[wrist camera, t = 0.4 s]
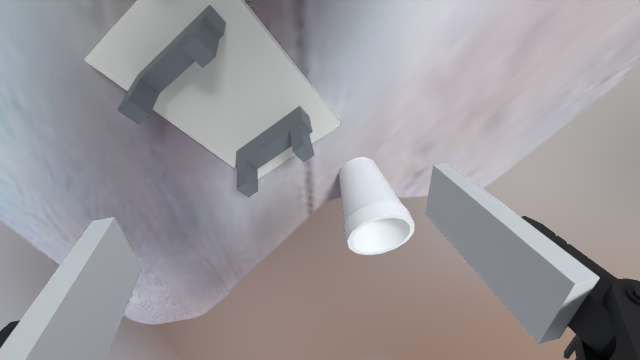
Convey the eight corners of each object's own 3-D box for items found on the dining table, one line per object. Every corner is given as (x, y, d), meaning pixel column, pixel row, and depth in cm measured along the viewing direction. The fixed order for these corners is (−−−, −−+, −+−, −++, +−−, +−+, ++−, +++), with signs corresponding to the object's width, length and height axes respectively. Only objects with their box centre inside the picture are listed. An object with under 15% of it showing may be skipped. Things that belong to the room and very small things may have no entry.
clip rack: (194, -63, 25) (174, -46, 19) (338, 119, 40) (354, 161, 34) (89, 53, 30) (45, 97, 24) (253, 175, 46) (253, 221, 39)
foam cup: (385, 183, 52) (412, 245, 43) (335, 196, 52) (352, 260, 43) (383, 143, 45) (415, 207, 36) (325, 158, 45) (343, 225, 36)
